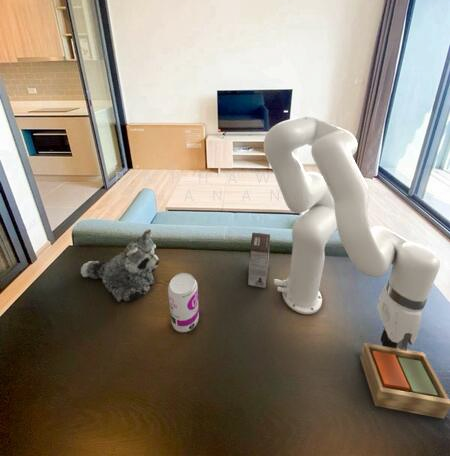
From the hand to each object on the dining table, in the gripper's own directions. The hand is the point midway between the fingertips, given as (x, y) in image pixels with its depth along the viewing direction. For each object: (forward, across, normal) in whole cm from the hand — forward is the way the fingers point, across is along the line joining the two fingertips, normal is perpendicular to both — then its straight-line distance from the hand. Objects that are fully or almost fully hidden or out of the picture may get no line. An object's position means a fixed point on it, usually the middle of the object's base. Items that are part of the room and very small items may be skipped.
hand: (388, 344), depth 64 cm
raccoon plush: (+3, -5, -83) cm, 83 cm away
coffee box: (+4, -18, -35) cm, 40 cm away
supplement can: (+4, +2, -56) cm, 56 cm away
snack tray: (+4, +7, 0) cm, 8 cm away
